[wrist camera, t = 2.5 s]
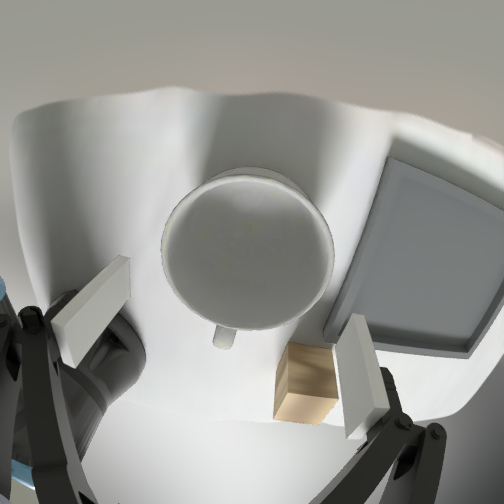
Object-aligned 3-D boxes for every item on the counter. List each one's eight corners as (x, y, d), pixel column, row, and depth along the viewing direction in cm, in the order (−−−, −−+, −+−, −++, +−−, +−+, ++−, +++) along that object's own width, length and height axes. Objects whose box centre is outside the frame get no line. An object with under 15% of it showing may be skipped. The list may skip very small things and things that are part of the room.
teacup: (225, 137, 22) (196, 143, 15) (343, 198, 23) (370, 232, 16) (168, 272, 28) (134, 322, 20) (267, 318, 29) (261, 378, 21)
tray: (322, 330, 29) (324, 341, 27) (387, 156, 21) (394, 159, 19) (463, 350, 29) (468, 359, 27) (528, 226, 21) (537, 232, 19)
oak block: (276, 371, 32) (272, 419, 26) (288, 341, 30) (287, 392, 23) (316, 377, 32) (319, 425, 26) (331, 349, 30) (338, 399, 23)
